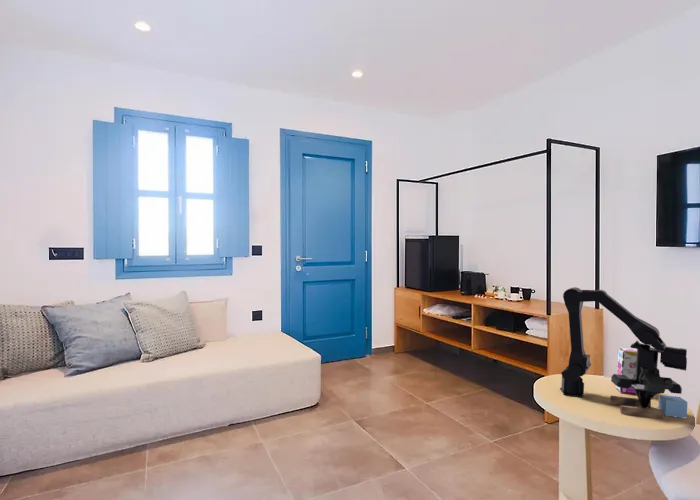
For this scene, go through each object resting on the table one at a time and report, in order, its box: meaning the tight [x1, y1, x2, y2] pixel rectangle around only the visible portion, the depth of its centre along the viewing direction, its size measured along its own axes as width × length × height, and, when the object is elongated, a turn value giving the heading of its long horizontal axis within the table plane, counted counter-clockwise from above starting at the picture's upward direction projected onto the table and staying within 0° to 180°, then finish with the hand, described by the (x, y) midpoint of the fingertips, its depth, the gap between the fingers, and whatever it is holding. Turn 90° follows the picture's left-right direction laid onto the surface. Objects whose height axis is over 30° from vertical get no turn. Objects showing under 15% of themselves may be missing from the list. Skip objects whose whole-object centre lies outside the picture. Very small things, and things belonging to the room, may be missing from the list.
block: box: [658, 394, 688, 418], centre depth 133 cm, size 6×4×6 cm
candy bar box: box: [615, 347, 637, 395], centre depth 151 cm, size 11×5×16 cm, turn 77°
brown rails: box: [609, 395, 664, 419], centre depth 135 cm, size 12×9×2 cm
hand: (643, 408), depth 135 cm, fingers closed
